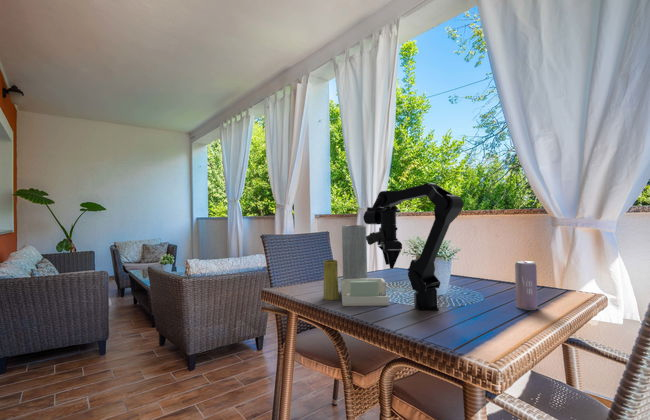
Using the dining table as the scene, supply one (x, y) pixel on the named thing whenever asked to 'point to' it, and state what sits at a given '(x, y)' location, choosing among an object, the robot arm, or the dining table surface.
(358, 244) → the planter
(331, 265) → the vase
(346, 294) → the cabinet
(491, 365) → the dining table surface
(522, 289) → the beverage can
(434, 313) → the dining table surface
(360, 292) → the door
